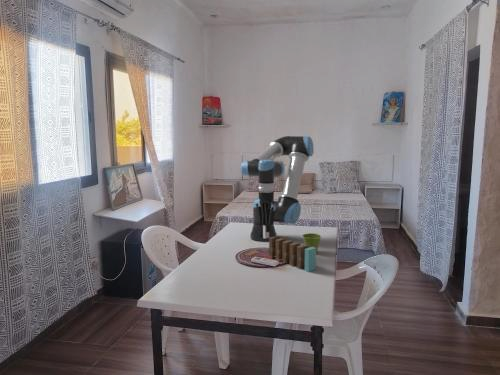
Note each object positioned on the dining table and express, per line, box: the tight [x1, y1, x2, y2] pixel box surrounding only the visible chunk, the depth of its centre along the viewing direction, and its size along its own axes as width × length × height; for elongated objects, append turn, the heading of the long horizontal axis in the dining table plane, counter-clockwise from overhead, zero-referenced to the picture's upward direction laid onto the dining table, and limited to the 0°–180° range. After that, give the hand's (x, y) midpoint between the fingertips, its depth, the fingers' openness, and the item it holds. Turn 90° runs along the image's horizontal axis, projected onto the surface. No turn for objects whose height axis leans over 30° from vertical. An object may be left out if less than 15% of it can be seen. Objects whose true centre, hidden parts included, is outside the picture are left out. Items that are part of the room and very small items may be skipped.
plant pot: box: [301, 233, 322, 254], centre depth 191 cm, size 9×9×9 cm
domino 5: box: [296, 243, 308, 270], centre depth 170 cm, size 2×5×10 cm, turn 130°
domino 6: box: [304, 247, 317, 273], centre depth 167 cm, size 2×5×10 cm, turn 130°
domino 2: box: [275, 237, 287, 260], centre depth 181 cm, size 2×5×10 cm, turn 130°
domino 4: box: [289, 241, 302, 267], centre depth 174 cm, size 2×5×10 cm, turn 131°
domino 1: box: [268, 235, 281, 257], centre depth 184 cm, size 2×5×10 cm, turn 131°
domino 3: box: [281, 239, 294, 264], centre depth 177 cm, size 2×5×10 cm, turn 131°
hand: (266, 237), depth 188 cm, fingers closed
